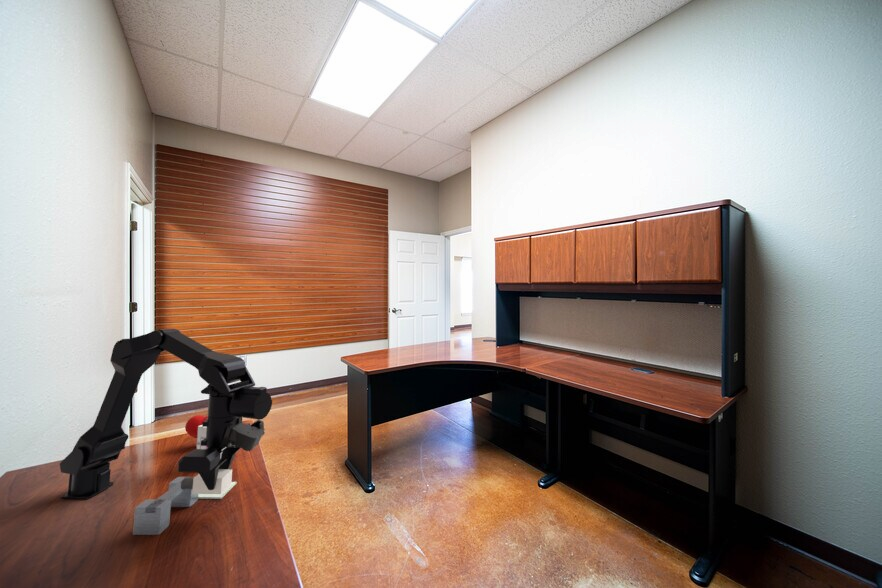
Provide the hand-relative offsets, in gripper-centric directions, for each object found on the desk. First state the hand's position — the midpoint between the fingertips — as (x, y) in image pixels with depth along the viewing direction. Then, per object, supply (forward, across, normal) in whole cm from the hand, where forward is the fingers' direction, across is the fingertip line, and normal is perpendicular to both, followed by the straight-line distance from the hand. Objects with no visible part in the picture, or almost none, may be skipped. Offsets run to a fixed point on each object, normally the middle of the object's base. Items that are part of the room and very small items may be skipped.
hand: (217, 484), depth 73 cm
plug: (+1, 0, +2) cm, 3 cm away
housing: (+7, 0, +9) cm, 12 cm away
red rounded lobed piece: (+7, +35, +25) cm, 44 cm away
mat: (+7, +10, +6) cm, 14 cm away
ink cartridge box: (+7, +25, +15) cm, 30 cm away
